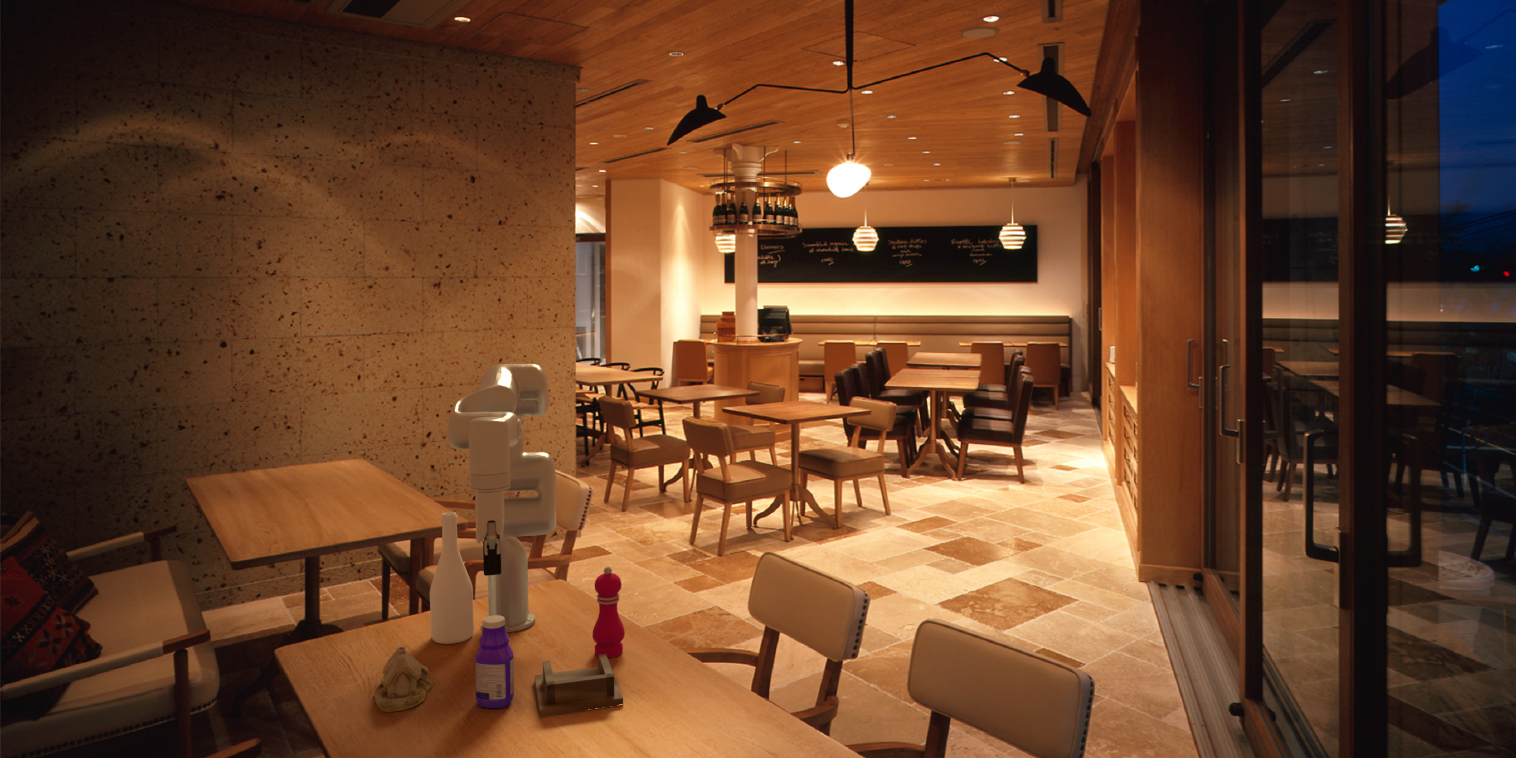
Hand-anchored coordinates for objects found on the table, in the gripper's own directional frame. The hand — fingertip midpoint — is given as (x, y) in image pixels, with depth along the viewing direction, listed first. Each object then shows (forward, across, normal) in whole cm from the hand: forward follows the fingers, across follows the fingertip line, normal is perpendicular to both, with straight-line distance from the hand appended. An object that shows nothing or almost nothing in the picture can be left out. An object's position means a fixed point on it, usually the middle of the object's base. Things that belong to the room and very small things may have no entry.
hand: (492, 567), depth 167 cm
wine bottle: (+28, -38, -9) cm, 48 cm away
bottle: (+28, 0, 0) cm, 28 cm away
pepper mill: (+28, -18, +25) cm, 42 cm away
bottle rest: (+28, 0, +16) cm, 32 cm away
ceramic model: (+28, -10, -18) cm, 35 cm away
